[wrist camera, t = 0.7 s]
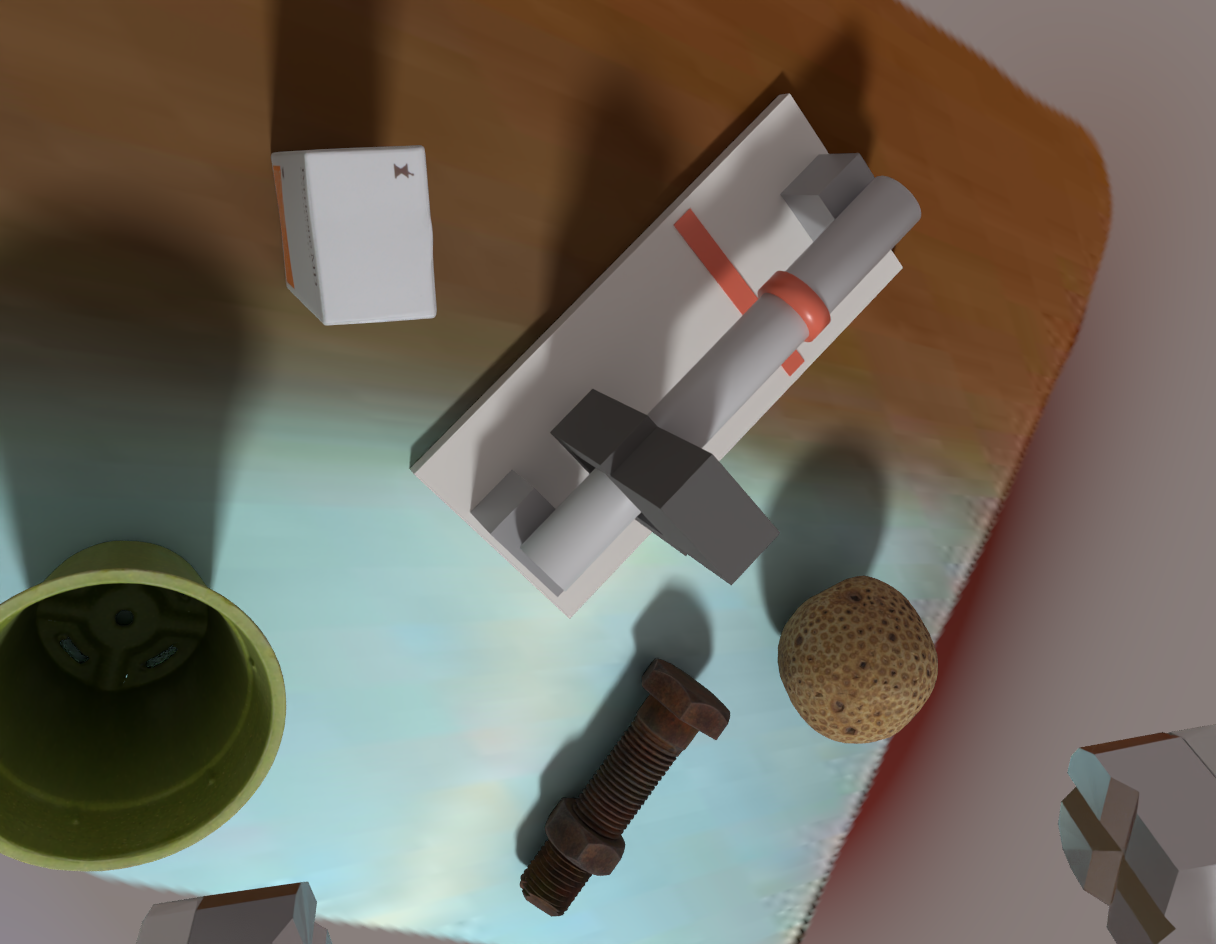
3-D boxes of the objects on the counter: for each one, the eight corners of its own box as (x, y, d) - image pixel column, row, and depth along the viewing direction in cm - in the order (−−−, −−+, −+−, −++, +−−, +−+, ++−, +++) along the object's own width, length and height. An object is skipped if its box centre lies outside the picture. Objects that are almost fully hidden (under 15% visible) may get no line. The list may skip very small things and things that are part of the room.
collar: (629, 515, 53) (740, 595, 43) (549, 432, 50) (649, 497, 40) (668, 473, 53) (789, 543, 43) (592, 388, 50) (702, 442, 40)
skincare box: (266, 151, 44) (301, 144, 34) (366, 149, 46) (429, 141, 35) (283, 293, 46) (321, 328, 36) (379, 286, 48) (442, 318, 37)
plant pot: (306, 551, 50) (344, 646, 40) (182, 760, 50) (189, 907, 40) (58, 438, 44) (29, 515, 34) (-81, 674, 44) (-149, 819, 34)
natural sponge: (789, 530, 61) (897, 590, 52) (888, 583, 65) (1004, 648, 56) (715, 664, 61) (809, 747, 52) (819, 708, 65) (923, 792, 56)
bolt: (509, 854, 61) (656, 650, 61) (577, 905, 61) (726, 700, 61) (495, 894, 55) (658, 668, 55) (571, 950, 55) (734, 724, 55)
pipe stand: (563, 611, 56) (620, 673, 49) (409, 468, 50) (449, 515, 44) (891, 266, 59) (989, 278, 52) (779, 94, 53) (872, 82, 46)
